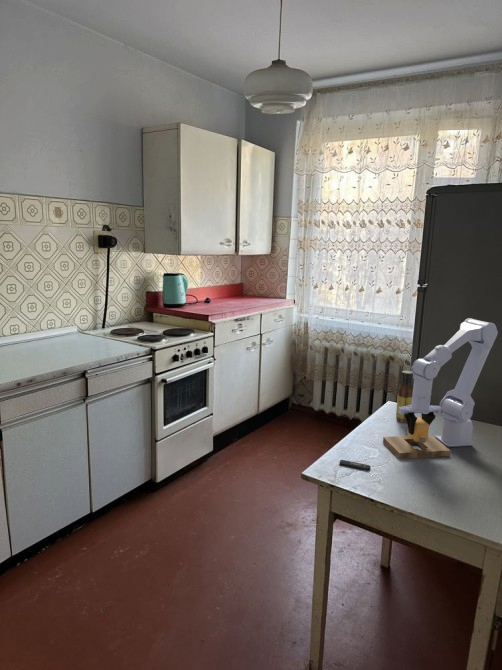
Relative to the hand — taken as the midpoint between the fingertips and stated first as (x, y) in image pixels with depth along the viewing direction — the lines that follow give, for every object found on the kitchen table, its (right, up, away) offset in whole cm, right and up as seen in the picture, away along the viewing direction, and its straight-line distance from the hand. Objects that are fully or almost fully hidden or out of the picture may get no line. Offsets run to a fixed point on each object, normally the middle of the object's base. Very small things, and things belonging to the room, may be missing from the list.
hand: (417, 433), depth 155 cm
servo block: (0, -2, 0) cm, 2 cm away
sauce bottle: (+4, -1, +26) cm, 26 cm away
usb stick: (-24, -9, -12) cm, 28 cm away
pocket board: (0, -6, +1) cm, 6 cm away
